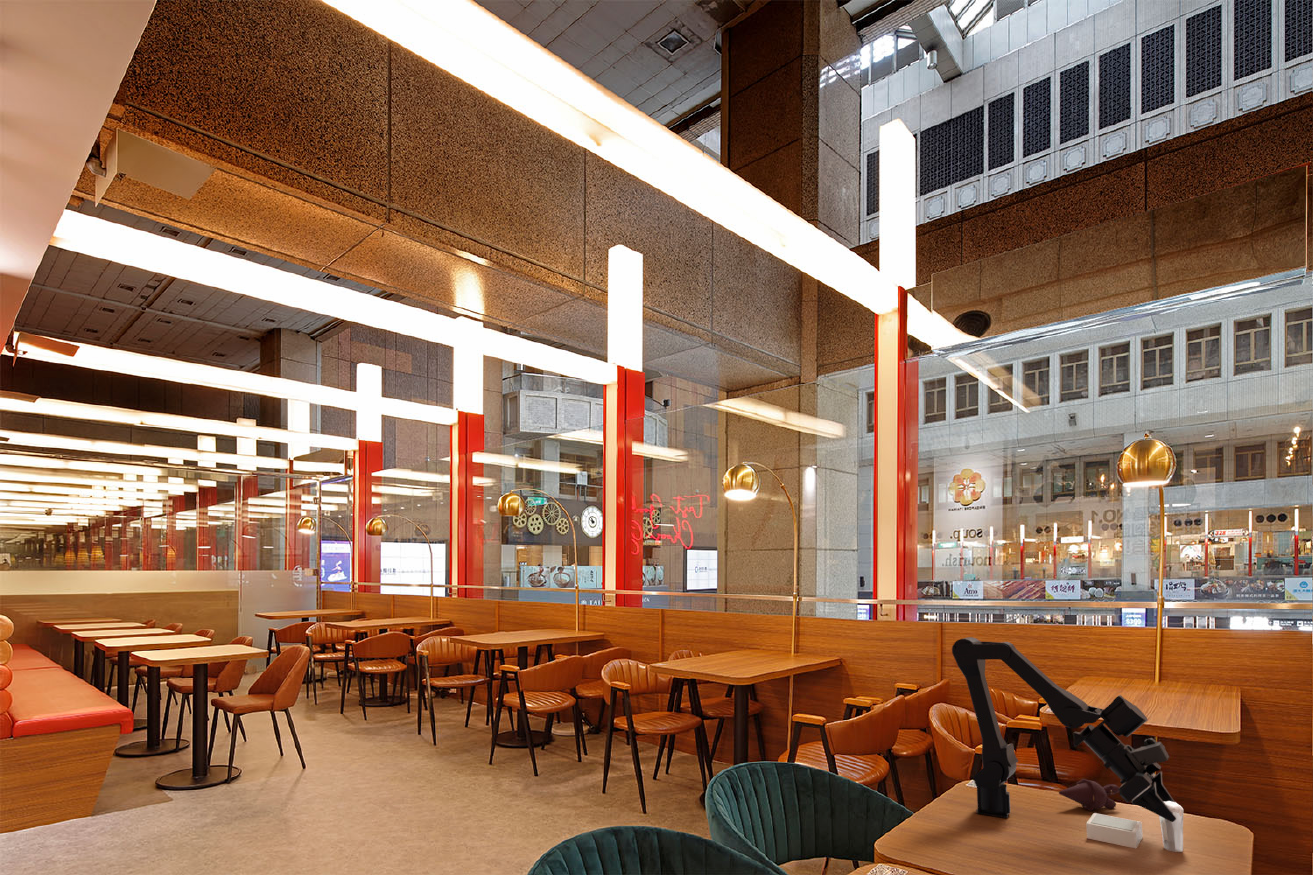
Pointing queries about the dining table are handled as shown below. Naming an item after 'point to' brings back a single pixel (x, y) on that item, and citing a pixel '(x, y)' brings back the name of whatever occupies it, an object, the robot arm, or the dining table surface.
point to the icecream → (1091, 794)
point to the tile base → (1114, 830)
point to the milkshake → (1173, 828)
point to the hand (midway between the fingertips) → (1176, 815)
